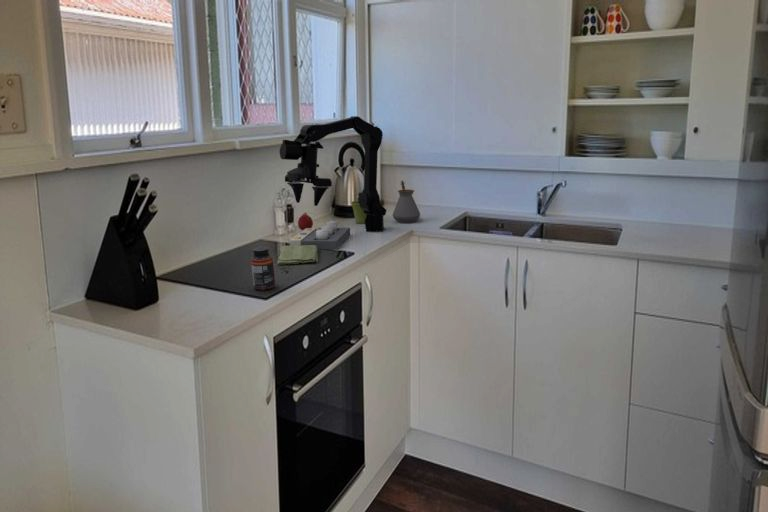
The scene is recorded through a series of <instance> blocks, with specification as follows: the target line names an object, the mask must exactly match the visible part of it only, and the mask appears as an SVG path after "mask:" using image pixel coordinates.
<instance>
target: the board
mask: <svg viewBox="0 0 768 512" xmlns="http://www.w3.org/2000/svg"><path fill="white" fill-rule="evenodd" d="M317 230H321V227H318V228H316V231H317ZM316 231H314V232H313V233H312V234H311V235H309V236H308V237H307V238H306V239H304V240H303V241H302V243H303V245H316V246H317V249H337V248H338V247H339V246H340V247H341V246H342V245H343V244H344V242H346V241H347V239H349V237H351V227H337V231H333V235H332V236H328V240H316ZM341 244H342V245H341ZM340 247H339V248H340ZM339 248H338V249H339ZM338 249H337V250H338Z"/></svg>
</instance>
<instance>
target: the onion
mask: <svg viewBox="0 0 768 512" xmlns="http://www.w3.org/2000/svg"><path fill="white" fill-rule="evenodd" d="M297 226H298V228H299V230H300V231H301V232H302V231H303V230H304V229H306V228H313V226H314V222H313V218H312V217H311V216H310V215H308V213H307V212H303V214H302V215H301V216H300V217H299V218H298V220H297Z"/></svg>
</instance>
